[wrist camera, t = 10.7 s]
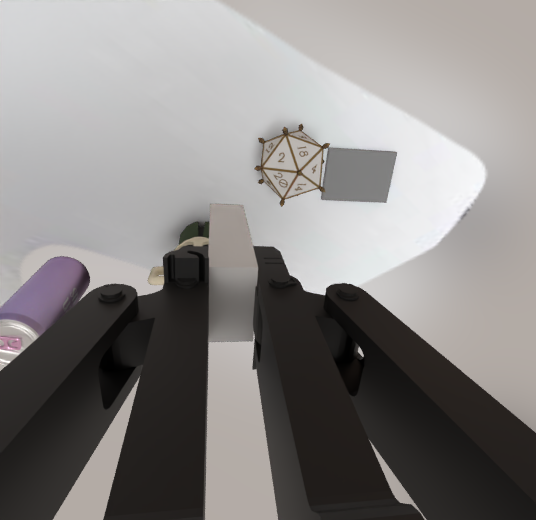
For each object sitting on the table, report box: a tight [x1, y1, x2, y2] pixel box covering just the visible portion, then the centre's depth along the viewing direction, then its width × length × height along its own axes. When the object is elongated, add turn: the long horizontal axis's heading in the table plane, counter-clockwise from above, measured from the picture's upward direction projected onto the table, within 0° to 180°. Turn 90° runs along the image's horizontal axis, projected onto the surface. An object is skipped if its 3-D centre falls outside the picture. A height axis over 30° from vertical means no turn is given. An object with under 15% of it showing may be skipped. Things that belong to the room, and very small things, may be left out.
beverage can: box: [0, 256, 90, 366], centre depth 42 cm, size 6×6×15 cm
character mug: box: [148, 222, 210, 285], centre depth 43 cm, size 11×7×13 cm, turn 88°
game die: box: [254, 124, 330, 207], centre depth 41 cm, size 9×8×10 cm
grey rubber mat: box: [321, 148, 397, 203], centre depth 47 cm, size 9×7×1 cm
